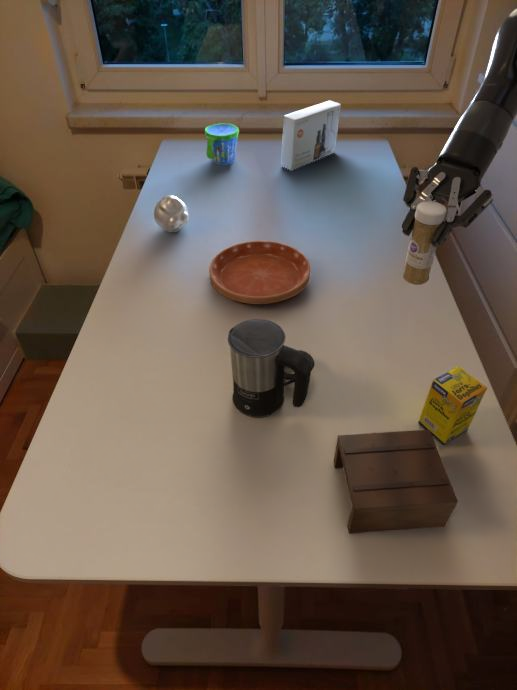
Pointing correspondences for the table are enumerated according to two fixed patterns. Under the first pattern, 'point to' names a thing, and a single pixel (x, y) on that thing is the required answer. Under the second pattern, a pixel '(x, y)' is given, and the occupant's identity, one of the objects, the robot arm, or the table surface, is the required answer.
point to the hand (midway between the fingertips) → (419, 239)
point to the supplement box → (451, 404)
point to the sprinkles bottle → (423, 242)
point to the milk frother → (265, 368)
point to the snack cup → (222, 142)
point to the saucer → (259, 272)
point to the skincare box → (309, 134)
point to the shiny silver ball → (171, 214)
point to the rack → (394, 481)
